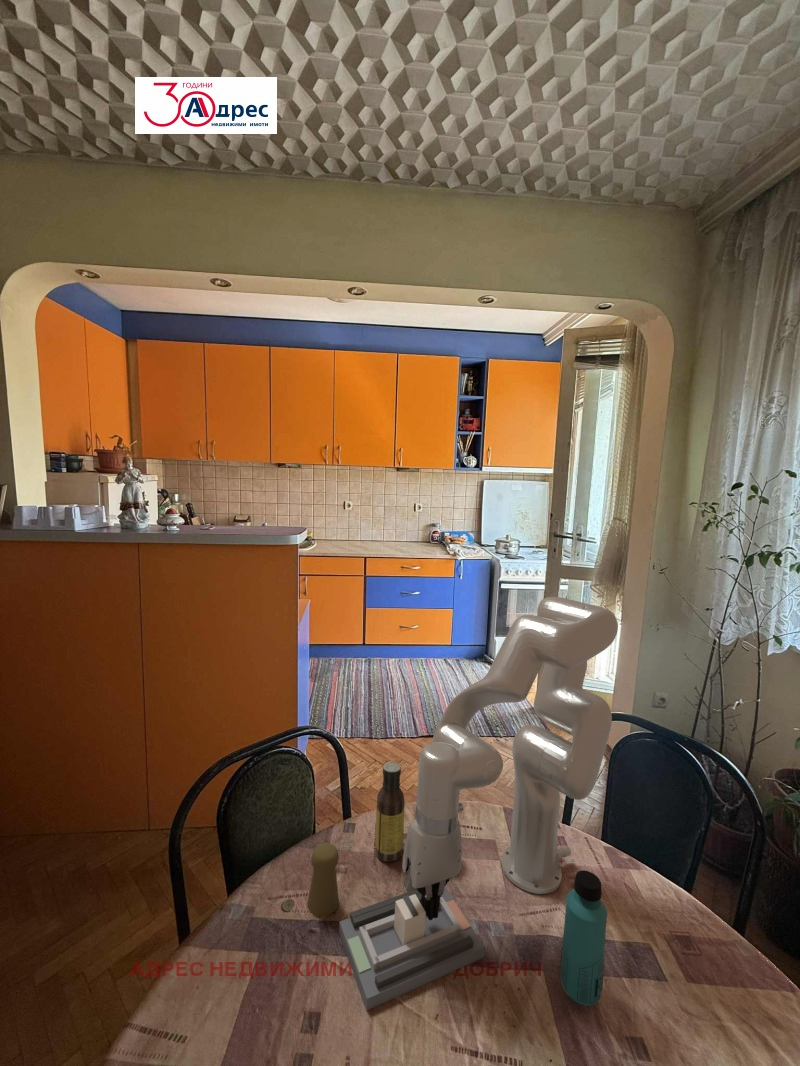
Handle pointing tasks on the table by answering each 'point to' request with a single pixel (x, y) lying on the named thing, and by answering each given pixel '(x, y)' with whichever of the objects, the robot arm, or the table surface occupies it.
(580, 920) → the beverage bottle
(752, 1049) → the table surface
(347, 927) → the panel
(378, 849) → the sauce bottle
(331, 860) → the olive brown pawn
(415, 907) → the toggle
